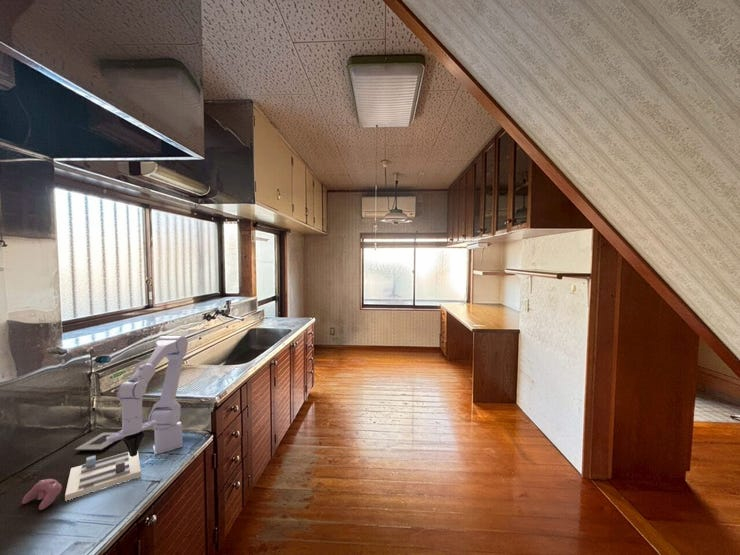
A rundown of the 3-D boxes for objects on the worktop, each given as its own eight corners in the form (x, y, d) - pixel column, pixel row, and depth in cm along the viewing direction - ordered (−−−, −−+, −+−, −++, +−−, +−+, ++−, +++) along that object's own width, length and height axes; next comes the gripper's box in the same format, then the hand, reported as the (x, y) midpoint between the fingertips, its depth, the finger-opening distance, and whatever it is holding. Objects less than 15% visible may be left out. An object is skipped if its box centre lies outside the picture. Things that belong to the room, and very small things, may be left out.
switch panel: (137, 454, 126) (137, 447, 126) (140, 477, 112) (140, 469, 112) (71, 473, 114) (71, 465, 114) (65, 501, 100) (64, 492, 100)
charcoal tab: (124, 467, 113) (124, 459, 113) (124, 471, 111) (124, 462, 111) (115, 470, 112) (115, 461, 112) (115, 473, 110) (115, 465, 110)
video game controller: (56, 508, 99) (68, 481, 102) (38, 511, 96) (51, 483, 98) (36, 501, 103) (48, 475, 106) (18, 503, 99) (31, 477, 102)
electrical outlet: (101, 454, 127) (101, 448, 127) (74, 454, 128) (74, 448, 127) (127, 437, 141) (127, 431, 140) (102, 437, 141) (102, 431, 141)
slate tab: (95, 463, 116) (95, 455, 116) (95, 466, 114) (95, 458, 114) (86, 466, 115) (86, 457, 115) (86, 469, 113) (86, 460, 113)
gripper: (149, 406, 122) (150, 442, 122) (101, 421, 109) (102, 462, 109) (159, 410, 118) (160, 447, 118) (111, 426, 106) (112, 468, 106)
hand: (133, 455), depth 114 cm, fingers closed
